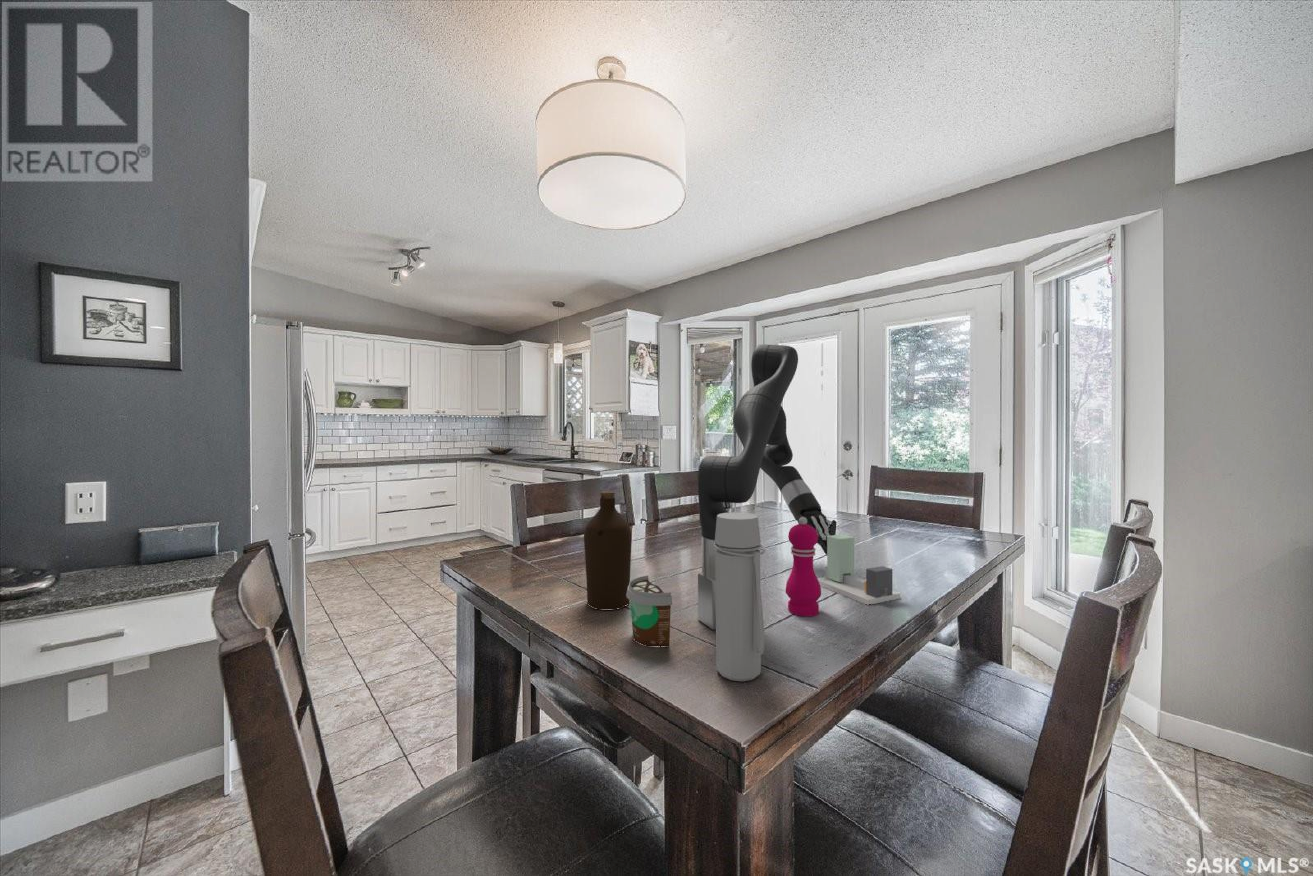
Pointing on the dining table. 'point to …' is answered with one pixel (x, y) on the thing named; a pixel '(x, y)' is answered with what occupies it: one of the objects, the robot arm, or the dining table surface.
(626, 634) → the dining table surface
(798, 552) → the pepper mill
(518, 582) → the dining table surface
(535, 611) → the dining table surface
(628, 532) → the olive oil
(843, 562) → the sleeve
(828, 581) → the rail base
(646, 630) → the food container
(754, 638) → the water bottle
